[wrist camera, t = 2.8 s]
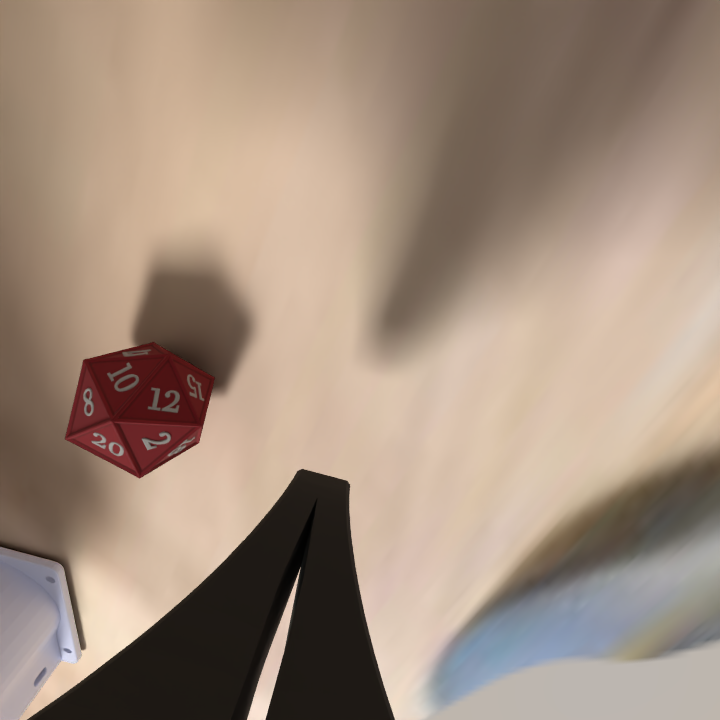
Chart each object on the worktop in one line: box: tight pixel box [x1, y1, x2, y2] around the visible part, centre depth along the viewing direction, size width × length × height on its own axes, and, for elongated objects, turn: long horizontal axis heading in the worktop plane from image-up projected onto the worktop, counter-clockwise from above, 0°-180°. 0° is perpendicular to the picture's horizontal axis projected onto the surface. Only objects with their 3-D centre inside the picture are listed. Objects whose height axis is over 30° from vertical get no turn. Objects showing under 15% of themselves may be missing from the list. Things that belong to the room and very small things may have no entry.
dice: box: [65, 342, 215, 478], centre depth 12 cm, size 4×4×4 cm
